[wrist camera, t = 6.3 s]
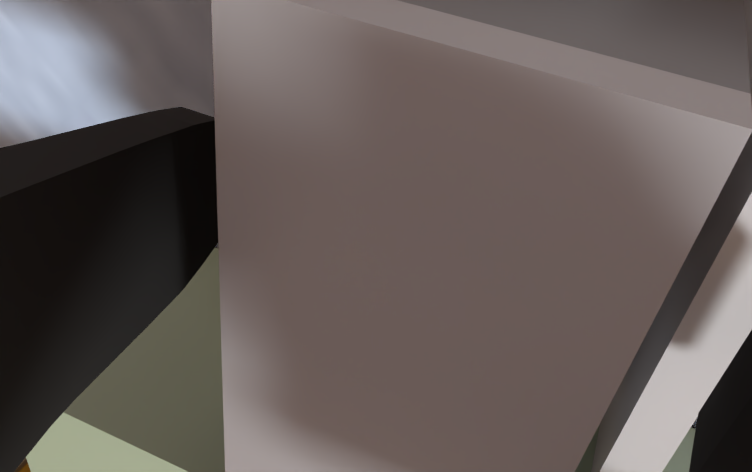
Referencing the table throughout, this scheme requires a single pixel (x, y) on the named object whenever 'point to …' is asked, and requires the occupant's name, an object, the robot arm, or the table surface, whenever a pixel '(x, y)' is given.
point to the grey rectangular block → (456, 218)
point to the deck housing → (603, 455)
